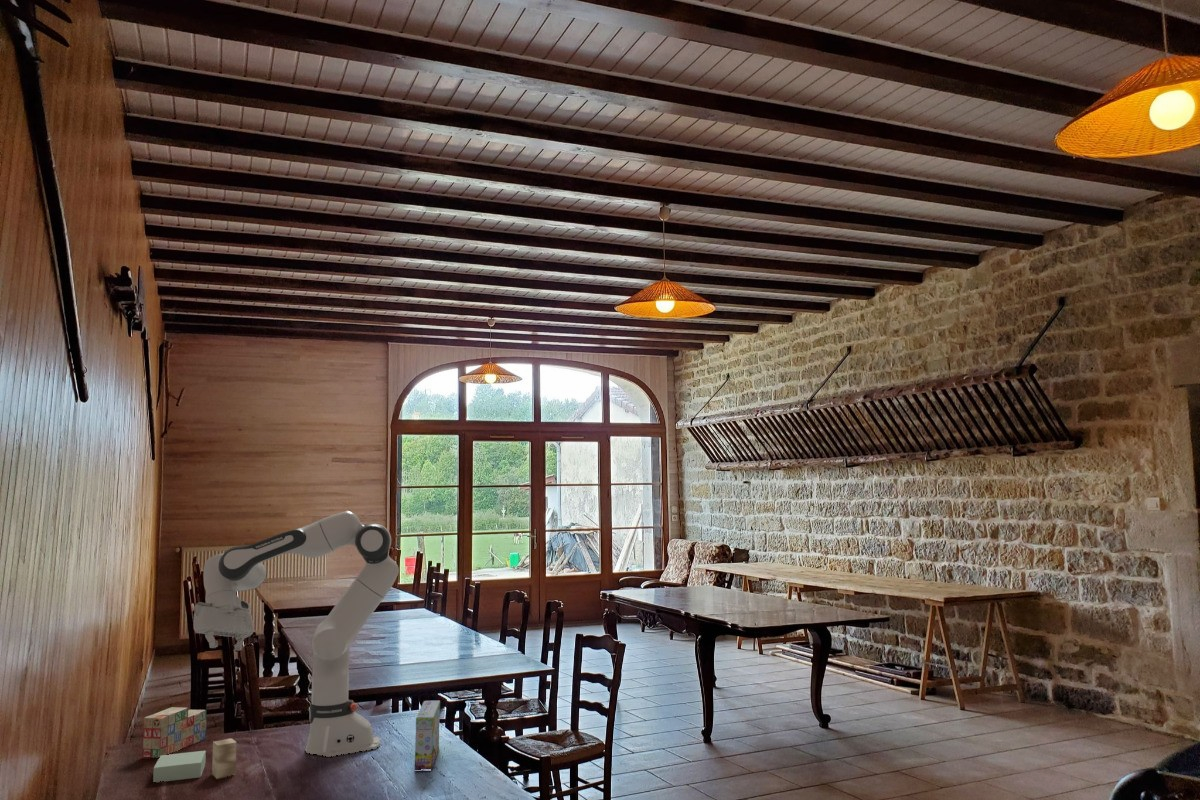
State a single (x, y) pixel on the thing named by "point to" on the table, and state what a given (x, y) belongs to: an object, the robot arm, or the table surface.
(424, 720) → the snack box
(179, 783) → the table surface
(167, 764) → the plinth
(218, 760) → the maple block
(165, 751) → the stack of blocks
